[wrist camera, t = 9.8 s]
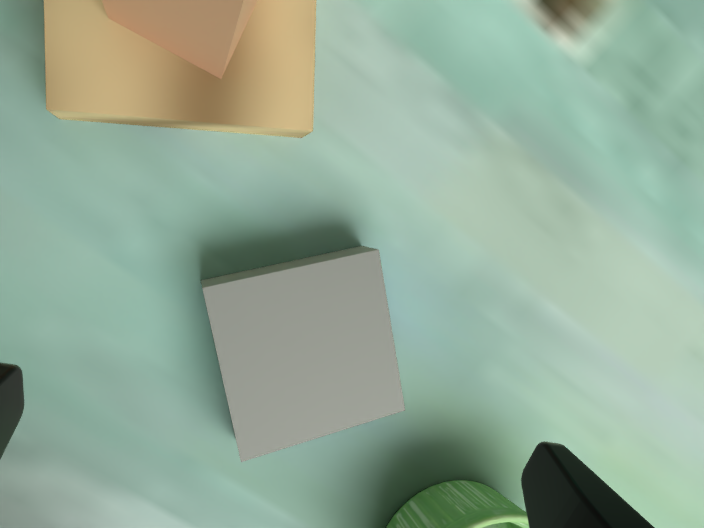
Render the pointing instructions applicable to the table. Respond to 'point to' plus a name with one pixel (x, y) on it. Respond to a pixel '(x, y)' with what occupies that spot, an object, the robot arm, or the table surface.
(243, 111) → the oak block
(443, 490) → the ramekin
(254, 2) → the terracotta block
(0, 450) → the robot arm
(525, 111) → the table surface
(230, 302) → the slate block
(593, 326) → the table surface
